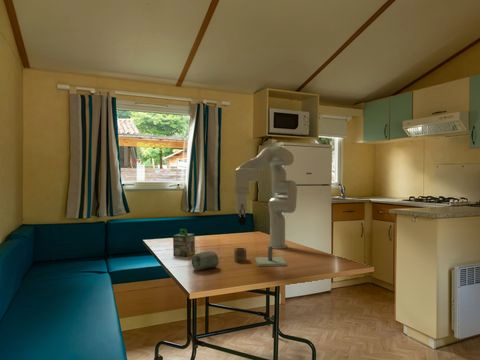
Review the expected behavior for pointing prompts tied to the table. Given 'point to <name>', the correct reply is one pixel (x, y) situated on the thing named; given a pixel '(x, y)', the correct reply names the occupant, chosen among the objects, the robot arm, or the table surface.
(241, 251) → the collar
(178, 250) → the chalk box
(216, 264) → the grey green cylinder
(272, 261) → the post board
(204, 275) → the table surface
